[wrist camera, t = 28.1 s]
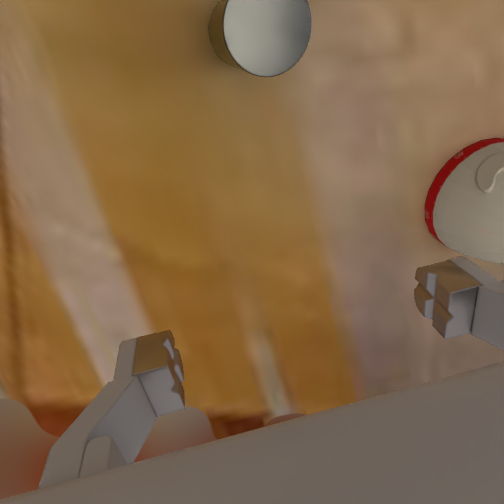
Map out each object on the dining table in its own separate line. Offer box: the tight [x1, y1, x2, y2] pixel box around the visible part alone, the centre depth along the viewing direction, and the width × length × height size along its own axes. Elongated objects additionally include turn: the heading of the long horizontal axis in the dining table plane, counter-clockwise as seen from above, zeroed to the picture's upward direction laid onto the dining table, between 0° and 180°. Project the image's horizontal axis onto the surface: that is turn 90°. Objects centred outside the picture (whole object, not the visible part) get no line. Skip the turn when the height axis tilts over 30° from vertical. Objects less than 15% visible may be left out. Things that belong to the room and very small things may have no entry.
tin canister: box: [209, 0, 311, 77], centre depth 29 cm, size 6×6×11 cm
